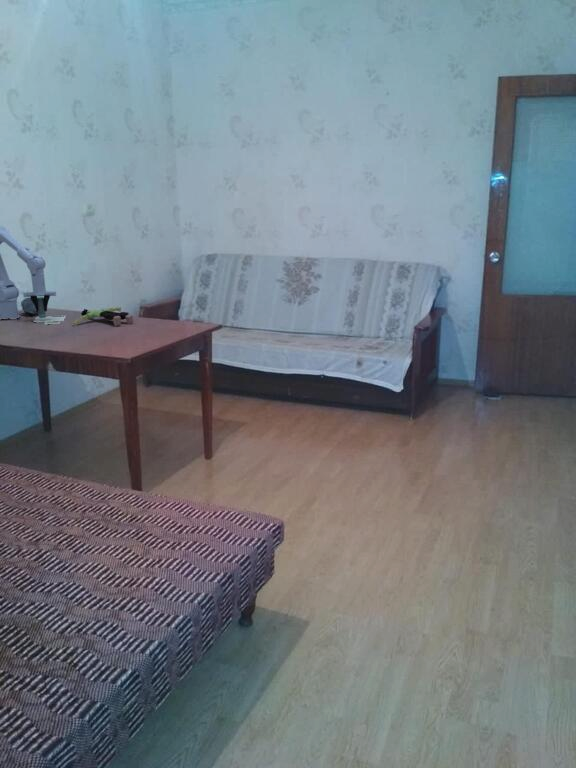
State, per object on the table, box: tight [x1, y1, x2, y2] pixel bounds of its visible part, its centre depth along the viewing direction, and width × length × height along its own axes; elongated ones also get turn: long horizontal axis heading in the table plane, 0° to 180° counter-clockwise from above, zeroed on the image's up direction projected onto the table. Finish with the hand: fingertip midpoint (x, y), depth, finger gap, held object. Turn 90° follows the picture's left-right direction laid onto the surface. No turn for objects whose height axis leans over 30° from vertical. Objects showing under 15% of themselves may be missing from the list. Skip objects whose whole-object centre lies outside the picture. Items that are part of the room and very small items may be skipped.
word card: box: [43, 321, 61, 326], centre depth 298 cm, size 7×5×1 cm
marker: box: [37, 296, 47, 318], centre depth 302 cm, size 3×3×10 cm
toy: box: [71, 306, 134, 327], centre depth 302 cm, size 32×7×30 cm
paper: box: [33, 315, 67, 323], centre depth 307 cm, size 14×13×1 cm
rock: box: [20, 297, 39, 315], centre depth 320 cm, size 16×8×10 cm
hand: (41, 311), depth 302 cm, fingers closed on marker, 3 cm apart
